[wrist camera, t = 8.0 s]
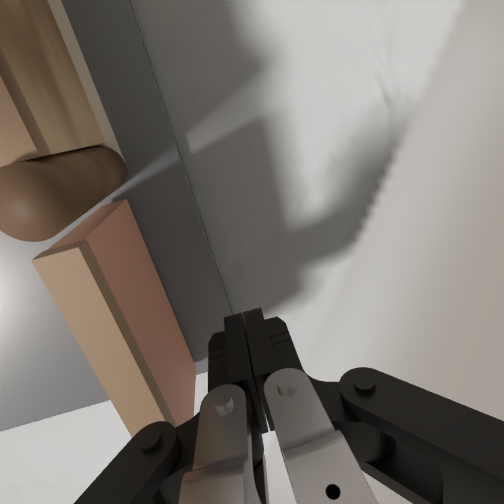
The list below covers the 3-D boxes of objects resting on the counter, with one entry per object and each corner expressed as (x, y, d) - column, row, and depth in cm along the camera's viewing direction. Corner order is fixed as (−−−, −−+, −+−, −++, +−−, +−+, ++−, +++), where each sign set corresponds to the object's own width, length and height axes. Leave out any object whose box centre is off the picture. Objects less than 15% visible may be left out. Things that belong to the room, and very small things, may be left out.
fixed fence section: (-30, -69, 10) (-318, -297, 5) (28, -83, 10) (-190, -329, 5) (91, 196, 13) (7, 250, 8) (134, 185, 13) (81, 230, 8)
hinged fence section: (100, 205, 13) (30, 260, 8) (129, 198, 13) (78, 247, 8) (175, 373, 17) (160, 486, 12) (197, 367, 17) (193, 476, 12)
